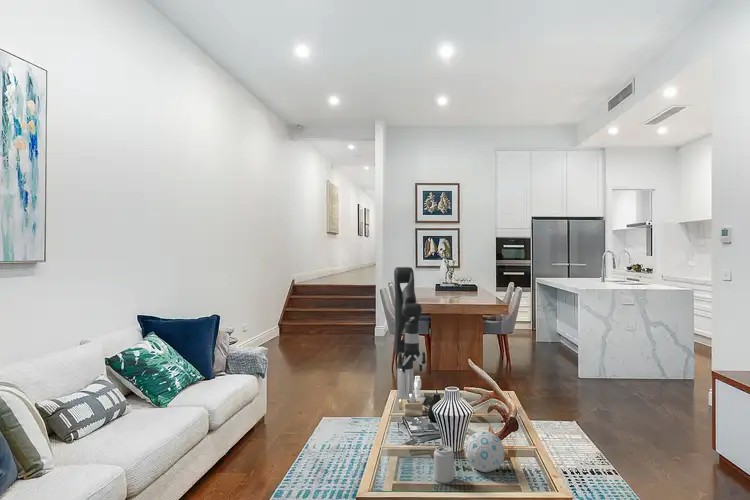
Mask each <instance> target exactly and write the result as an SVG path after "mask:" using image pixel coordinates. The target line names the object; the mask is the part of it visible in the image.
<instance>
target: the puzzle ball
mask: <svg viewBox="0 0 750 500" xmlns="http://www.w3.org/2000/svg"><path fill="white" fill-rule="evenodd" d="M464 452H465V453H464V454H465V456H466V459H467V461H468V463H469V464H470V466H472V468H474V469H476V470H478V471H480V472H482V473H490V472H493V471H495V470H497V469H499V468H500V467H501V466H502V464H503V462H504V459H505V447H504V445H503V443H502V441H501V438H500V437H499V436H497V435H496V434H494V433H492V432H491V431H486V430H483V431H476V432H475V433H473V434H472V435H471V436H470V437H469V438H468V439H467V441H466V443H465V451H464Z"/></svg>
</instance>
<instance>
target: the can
mask: <svg viewBox="0 0 750 500" xmlns="http://www.w3.org/2000/svg"><path fill="white" fill-rule="evenodd" d="M454 458H455V453H454V451H453V449H452V447H451V446H448V445H438V446H436V447H435V449H434V452H433V478H434V480H436V481H437V482H438V483H440V484H450V483H451V482H452V481H453V480H454V479H455V459H454Z"/></svg>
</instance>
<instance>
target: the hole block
mask: <svg viewBox="0 0 750 500" xmlns="http://www.w3.org/2000/svg"><path fill="white" fill-rule="evenodd" d="M401 411H402V412H403V414H404V416H405V417H409V416H410V417H412V416H415V417H417V416H423V404H422V402H421V401H420V399H415V403H409V399H402V410H401Z"/></svg>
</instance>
